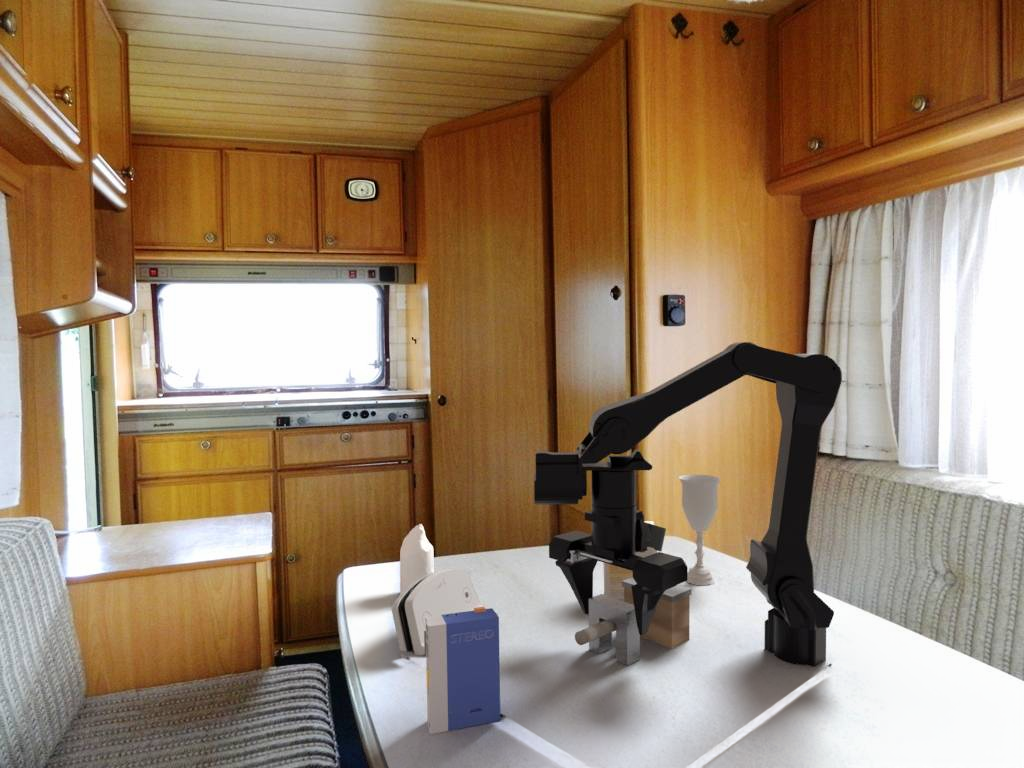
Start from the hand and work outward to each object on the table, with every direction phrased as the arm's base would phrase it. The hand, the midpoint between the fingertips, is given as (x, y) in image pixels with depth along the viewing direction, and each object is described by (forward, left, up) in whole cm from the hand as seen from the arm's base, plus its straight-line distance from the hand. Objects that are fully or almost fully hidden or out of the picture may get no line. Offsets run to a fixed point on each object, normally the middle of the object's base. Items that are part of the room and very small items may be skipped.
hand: (614, 623), depth 88 cm
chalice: (+10, -35, -5) cm, 37 cm away
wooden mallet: (0, -2, -5) cm, 6 cm away
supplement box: (+11, -17, -5) cm, 21 cm away
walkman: (+2, +23, -5) cm, 24 cm away
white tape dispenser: (+22, +12, -6) cm, 26 cm away
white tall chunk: (+38, +5, -5) cm, 39 cm away
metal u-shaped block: (0, 0, -4) cm, 4 cm away
